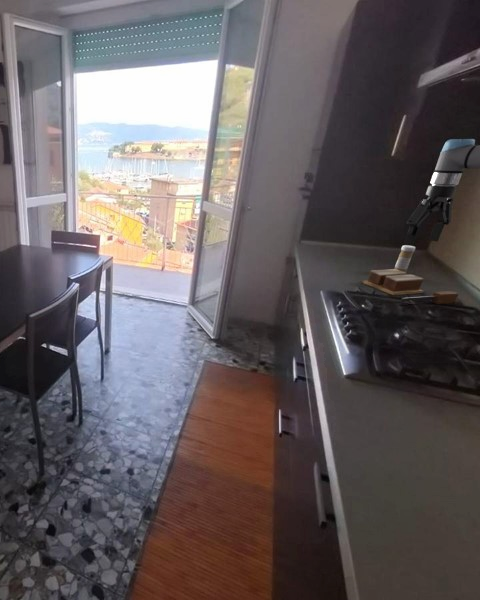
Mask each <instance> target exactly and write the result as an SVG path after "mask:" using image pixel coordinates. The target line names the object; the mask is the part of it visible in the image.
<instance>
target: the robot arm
mask: <svg viewBox="0 0 480 600" xmlns="http://www.w3.org/2000/svg"><path fill="white" fill-rule="evenodd" d="M475 143H476V140H475V139H474V138H452V139H448V140H446V141H445V143H444V145H443V147H442V149H441V151H440V153H439V157H438V159H437V163H436V165H435V169H434V171H433V173H432V175H431V179H430V182H429V185H428V187H427V188H426V192H425V196H428V197H427V199H426V198H422V199H420V201H419V204H418V205H417V207H416V208H415V210H414V211H413V212H412V214H411V215H410V217H409V218H408V220H407V221H406V224H405V225H406V226H407V227H408V226H409V228H408V230H407V233H406V236H405V239H404V242H403V243H404V244H410V245H414V243H415V240H416V238H417V236H418V233H419V230H420V225H422V223H423V221H424V220H425V219H427V218H428V216H429V215H430V214H432V213H435V220H436V222H437V223H434V225H433V227H432V229H431V233H430V235H429V238H428V241H432V242H439V239H440V237H441V234H442V232H443V230H444V227H445V226H448V225H449V224H450V223H451V220H452V207H453V202H454V198H453V196H454V195H455V192H456V191H457V185H459V183H460V180H461V178H462V175H463V172H464V170H465V169H467V170H470V169H473V170H474V169H475V170H480V145H479V144H475Z"/></svg>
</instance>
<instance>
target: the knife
mask: <svg viewBox="0 0 480 600" xmlns="http://www.w3.org/2000/svg"><path fill="white" fill-rule="evenodd" d="M458 296H459V292H457V291H454V290H447V291H434V292H433V293H432V295H425V296H410V297H409V296H408V297H401V299H400V302H404V301H409V300H412V301H419V300H432V301H425V302H415V303H417V304H416V305H425V304H426V305H427V304H435V305H444V304H455V302H456V300H457V298H458ZM439 300H440V301H442V302H437V301H439ZM400 302H399V304H401V306H409V305H408V303H400Z"/></svg>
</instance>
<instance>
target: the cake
mask: <svg viewBox="0 0 480 600" xmlns="http://www.w3.org/2000/svg"><path fill="white" fill-rule="evenodd" d="M423 281H424V278H423V277H420V276H418V275H414V274H407V271H406V272H403V271H400V270H397V269H394V268H390V269H374V270H373V269H372V270H370V273H369V275H368V279H367V280H362V283H363V285H367V286H369V287H372V288H374V289H376V290H379V291H381V292H384V293H386V294H390V295H391V296H398V295H413V294H423V293H424V290H422V289H421V286H422V284H423Z"/></svg>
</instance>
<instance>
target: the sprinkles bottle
mask: <svg viewBox="0 0 480 600" xmlns="http://www.w3.org/2000/svg"><path fill="white" fill-rule="evenodd" d="M400 249H401V250H400V252H399V255H398V258H397V261H396V262H395V265H394V268H393V269H397V270H400V271H403V272H406V273H407V270H408V268H409V265H410V262H411V260H412V257H413V254H414V252H415V251H416V246H414V245H408V244H405V245H402V246H401V248H400Z"/></svg>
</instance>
